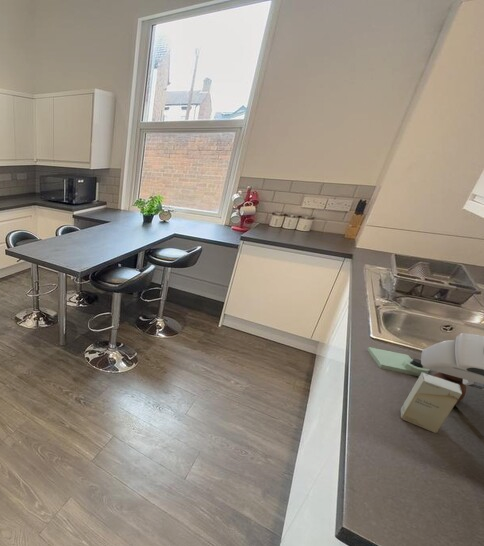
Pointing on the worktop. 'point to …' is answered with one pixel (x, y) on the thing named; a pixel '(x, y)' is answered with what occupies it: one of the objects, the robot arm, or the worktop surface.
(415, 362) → the tare button
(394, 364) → the kitchen scale
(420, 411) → the cosmetic box
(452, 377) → the wooden figurine
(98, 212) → the worktop surface
